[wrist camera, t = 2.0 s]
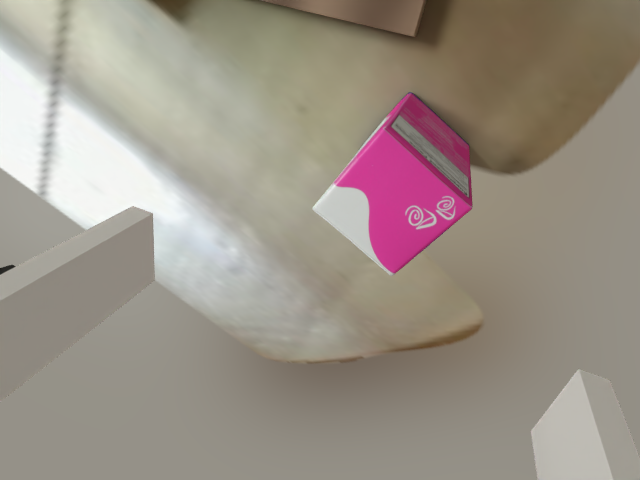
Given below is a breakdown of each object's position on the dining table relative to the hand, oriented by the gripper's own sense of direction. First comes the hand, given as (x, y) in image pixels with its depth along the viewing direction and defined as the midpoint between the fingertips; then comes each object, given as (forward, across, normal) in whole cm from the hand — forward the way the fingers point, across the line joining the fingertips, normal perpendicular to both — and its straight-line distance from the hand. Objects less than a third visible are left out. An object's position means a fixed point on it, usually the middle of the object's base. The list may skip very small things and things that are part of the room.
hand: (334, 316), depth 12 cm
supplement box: (+20, 0, 0) cm, 20 cm away
